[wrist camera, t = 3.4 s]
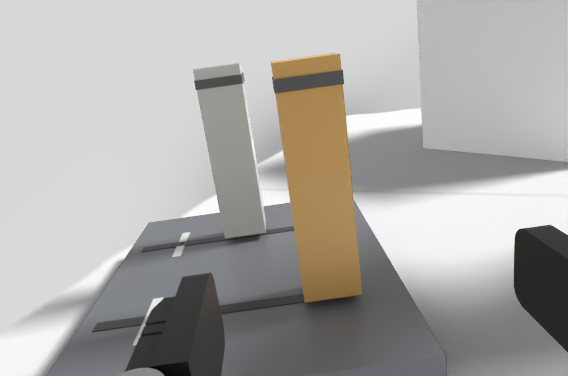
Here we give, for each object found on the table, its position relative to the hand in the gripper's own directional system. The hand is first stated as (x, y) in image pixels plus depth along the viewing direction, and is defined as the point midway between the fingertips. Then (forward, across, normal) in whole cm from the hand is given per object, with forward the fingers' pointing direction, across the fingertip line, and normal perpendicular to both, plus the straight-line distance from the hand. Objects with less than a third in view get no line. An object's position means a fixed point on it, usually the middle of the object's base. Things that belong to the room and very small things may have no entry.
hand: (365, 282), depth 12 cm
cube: (+50, -35, +11) cm, 62 cm away
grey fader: (+21, +5, +6) cm, 23 cm away
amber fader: (+11, 0, +6) cm, 13 cm away
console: (+16, +5, +10) cm, 20 cm away
